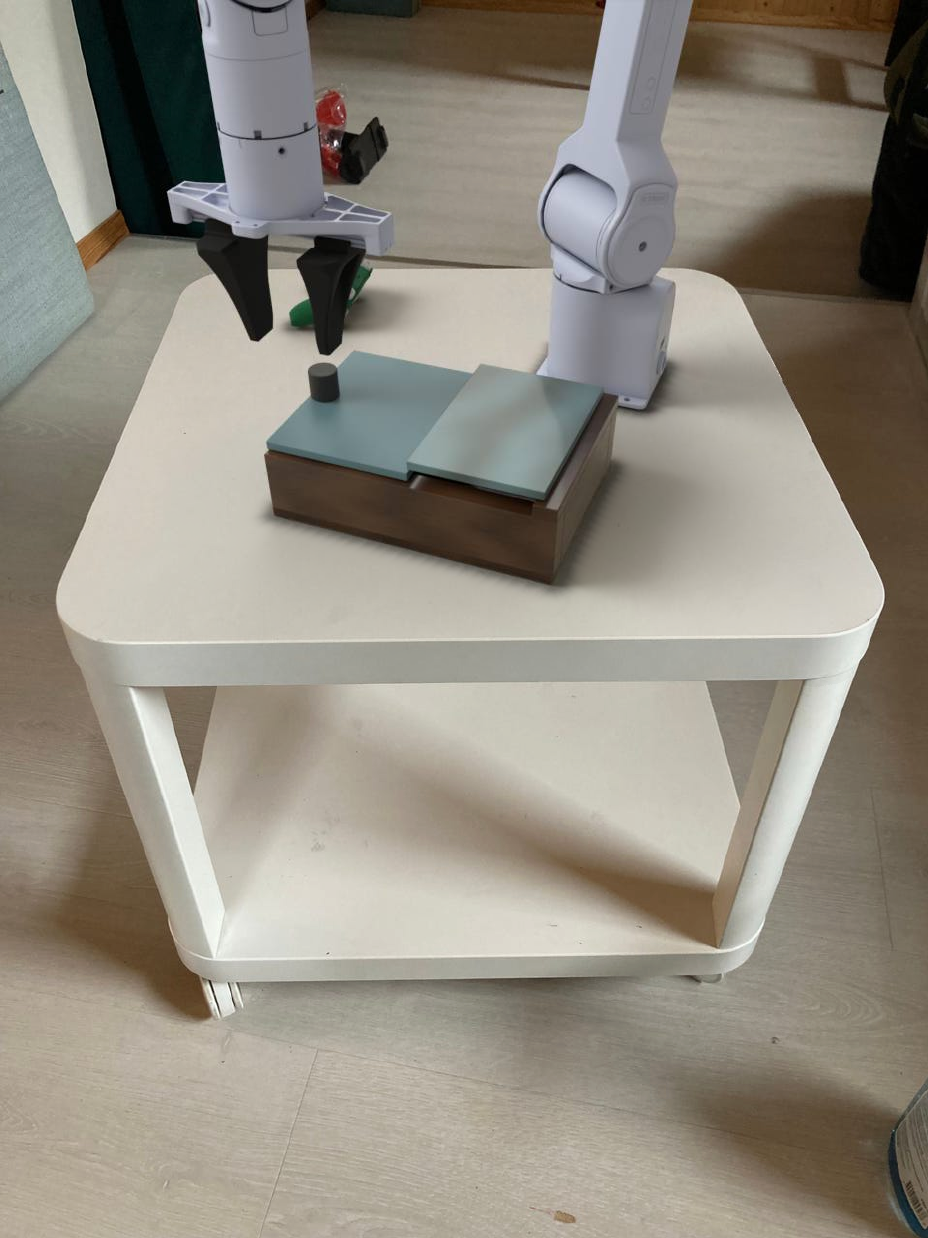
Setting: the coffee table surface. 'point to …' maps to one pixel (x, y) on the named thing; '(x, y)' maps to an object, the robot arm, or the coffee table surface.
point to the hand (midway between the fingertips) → (295, 341)
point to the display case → (474, 477)
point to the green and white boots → (304, 315)
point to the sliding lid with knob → (368, 412)
